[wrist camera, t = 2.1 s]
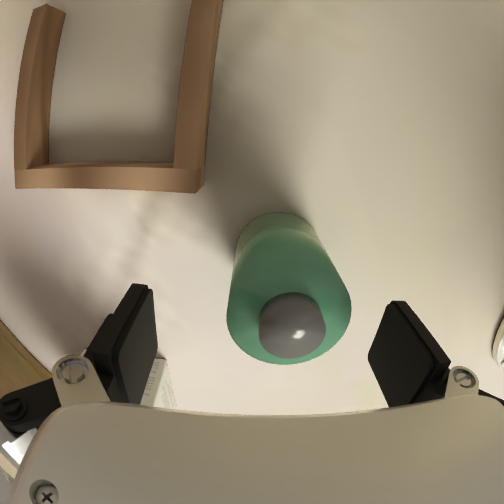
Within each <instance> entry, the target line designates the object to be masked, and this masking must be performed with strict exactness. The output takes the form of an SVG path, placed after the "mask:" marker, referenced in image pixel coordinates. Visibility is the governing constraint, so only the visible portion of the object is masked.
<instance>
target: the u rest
mask: <svg viewBox="0 0 504 504" xmlns="http://www.w3.org/2000/svg"><path fill="white" fill-rule="evenodd" d="M222 6H223V0H192V5H191V10H190V16H189V22H188V28H187V34H186V41H185V48H184V55H183V62H182V70H181V79H180V87H179V97H178V107H177V118H176V131H175V145H174V162H173V163H164V162H71V163H50V164H49V159H48V149H49V119H50V104H51V94H52V84H53V76H54V69H55V63H56V57H57V51H58V46H59V40H60V36H61V31H62V27H63V22H64V18H65V14H66V13H64V12H62V11H60V10H58V9H56V8H54V7H51V6H49V5H47V4H46V5H43V6H41V7H38V8H36V9H33V13H32V16H31V20H30V24H29V28H28V32H27V36H26V41H25V45H24V50H23V56H22V61H21V67H20V74H19V81H18V89H17V99H16V111H15V129H14V169H15V188H16V189H22V188H86V189H122V190H145V191H164V192H181V193H196V192H197V191H198V190H199V189H200V188H201V187H202V186H203V185H204V170H205V156H206V143H207V131H208V120H209V110H210V100H211V90H212V81H213V73H214V64H215V56H216V48H217V41H218V33H219V26H220V20H221V13H222Z"/></svg>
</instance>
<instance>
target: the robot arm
mask: <svg viewBox="0 0 504 504" xmlns="http://www.w3.org/2000/svg"><path fill="white" fill-rule="evenodd" d="M157 348H158V342H157V333H156V324H155V313H154V301H153V291H152V289H148V286H147V285H144V284H135V283H133V284H132V285H131V286H130V288H129V290H128V291H127V293H126V294H125V296H124V297H123V299H122V301H121V302H120V304H119V305H118V307H117V309H116V310H115V312H114V314H109V315H108V316H107V317H106V319H105V321H104V322H103V324H102V325H101V327H100V329H99V330H98V332H97V334H96V335H95V337H94V339H93V340H92V342H91V344H90V345H89V347H88V349H87V350H86V352H85V354H84V356H80V355H70V356H66V357H64V358H61V359H60V360H59V361H57V362H56V364H55V365H54V366H53V369H52V378H50V379H47V380H44V381H42V382H39V383H36V384H33V385H30V386H27V387H24V388H22V389H19V390H16V391H13V392H10V393H8V394H6V395H4V396H3V397H2V398H1V399H0V504H504V400H502V399H500V398H497V397H495V396H493V395H491V394H489V393H486V392H484V391H482V390H480V389H479V381H478V378H477V376H476V375H475V374H474V373H473V372H472V371H471V370H470V369H468V368H466V367H462V366H456V367H453V368H452V369H451V370H450V369H449V368H448V367H449V365H450V363H451V361H450V359H449V358H448V356H447V355H446V354H445V352H444V351H443V350H442V348H441V347H440V345H439V344H438V343H437V341H436V340H435V339H434V337H433V336H432V335H431V333H430V332H429V331H428V329H427V328H426V327H425V326H424V324H423V323H422V322H421V320H420V319H419V318H418V316H417V315H416V314H415V313H414V311H413V310H412V309H411V308H410V306H409V305H408V304H407V303H406V302H405V301H392V302H391V303H390V304H388V305H387V306H386V309H385V312H384V314H383V317H382V320H381V323H380V325H379V328H378V330H377V333H376V336H375V338H374V341H373V343H372V346H371V348H370V350H369V353H368V361H369V364H370V366H371V368H372V370H373V372H374V375H375V377H376V379H377V381H378V383H379V386H380V388H381V390H382V392H383V395H384V397H385V399H386V401H387V404H388V406H389V408H382V409H374V410H365V411H356V412H345V413H332V414H315V415H238V414H221V413H208V412H197V411H187V410H177V409H169V408H161V407H154V406H146V405H140V403H141V400H142V397H143V394H144V390H145V387H146V384H147V381H148V378H149V374H150V371H151V368H152V365H153V362H154V359H155V356H156V353H157ZM493 359H494V361H495V362H496V364H497V365H498V366H499V367H501V368H504V319H503V321H502V323H501V324H500V327H499V329H498V332H497V334H496V337H495V341H494V345H493Z"/></svg>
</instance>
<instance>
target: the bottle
mask: <svg viewBox="0 0 504 504" xmlns="http://www.w3.org/2000/svg"><path fill="white" fill-rule="evenodd" d="M350 317H351V300H350V296H349V293H348V291H347V289H346V287H345V285H344V283H343V281H342V279H341V278H340V276H339V274H338V272H337V270H336V268H335V267H334V265H333V263H332V261H331V259H330V258H329V256H328V254H327V252H326V251H325V249H324V247H323V245H322V243H321V242H320V240H319V238H318V237H317V235H316V233H315V231H314V230H313V228H312V227H311V226H310V225H309V224H308V223H307V222H306V221H305V220H303V219H302V218H300V217H298V216H296V215H293V214H290V213H284V212H275V213H269V214H265V215H262V216H260V217H258V218H256V219H255V220H253V221H252V222H250V223H249V224H248V225H247V226H246V227H245V229H244V230H243V231H242V233H241V235H240V237H239V239H238V242H237V247H236V253H235V260H234V266H233V273H232V280H231V287H230V294H229V301H228V308H227V326H228V329H229V332H230V335H231V337H232V338H233V340H234V341H235V343H236V344H237V345H238V346H239V347H240V348H241V349H242V350H243V351H244V352H245V353H247V354H248V355H250V356H252V357H253V358H256V359H258V360H260V361H264V362H267V363H272V364H281V365H288V364H297V363H302V362H305V361H309V360H311V359H314V358H316V357H318V356H320V355H322V354H324V353H325V352H327V351H328V350H329V349H331V348H332V347H333V346H334V345H335V344H336V343H337V342H338V341H339V340H340V338H341V337H342V336H343V334H344V333H345V331H346V329H347V327H348V324H349V321H350Z"/></svg>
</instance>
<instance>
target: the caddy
mask: <svg viewBox="0 0 504 504" xmlns="http://www.w3.org/2000/svg"><path fill="white" fill-rule="evenodd" d="M50 378H52V374H51V373H50V372H48V371H47V370H46V369H45V368H44V367H43V366H42V365H41V364H40V363H39V362H38V361H37V360H36V359H35V358H34V357H33V356H32V355H31V354H30V353H29V352H28V351H27V350H26V349H25V348H24V347H23V346H22V344H21V343H20V342H19V341H18V340H17V339H16V338H15V336H14V335H13V334H12V333H11V332H10V331H9V330H8V328H7V327H6V326H5V325H4V324H3V323H2V321H1V320H0V399H1V398H2V397H3V396H4V395H6V394H8V393H10V392H13V391H16V390H19V389H22V388H24V387H27V386H30V385H33V384H36V383H39V382H42V381H44V380H47V379H50Z"/></svg>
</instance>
